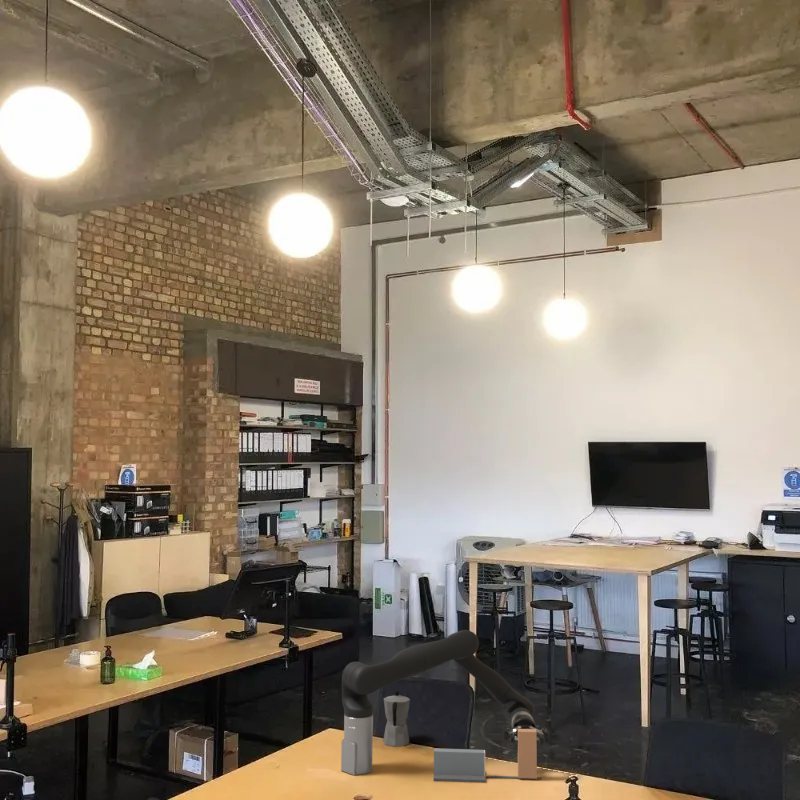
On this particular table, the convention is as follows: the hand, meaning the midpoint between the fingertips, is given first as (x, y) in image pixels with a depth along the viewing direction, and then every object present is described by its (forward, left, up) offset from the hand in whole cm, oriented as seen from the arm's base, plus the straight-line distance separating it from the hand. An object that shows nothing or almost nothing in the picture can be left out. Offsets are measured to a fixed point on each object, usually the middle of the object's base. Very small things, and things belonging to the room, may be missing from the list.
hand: (527, 740), depth 268 cm
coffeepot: (-4, +53, -12) cm, 54 cm away
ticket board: (-8, +10, -12) cm, 17 cm away
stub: (0, 0, -12) cm, 12 cm away
